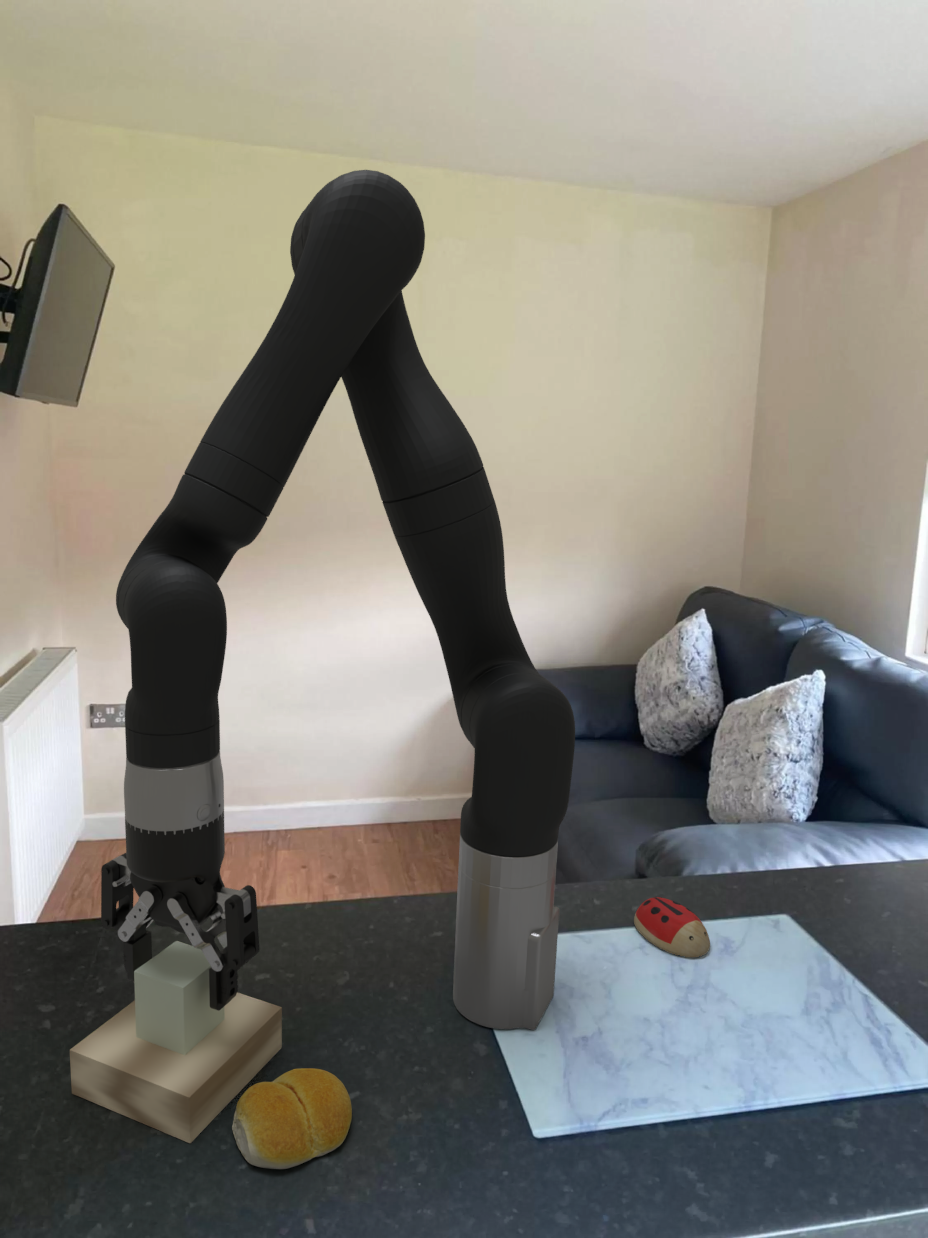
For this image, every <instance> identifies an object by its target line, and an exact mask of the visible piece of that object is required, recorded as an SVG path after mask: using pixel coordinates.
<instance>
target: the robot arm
mask: <svg viewBox="0 0 928 1238" xmlns="http://www.w3.org/2000/svg"><path fill="white" fill-rule="evenodd" d="M413 196H414V195H412V193H410V191H409V190H408V188H406V186H405V185H403V184H402V182H399V180H397V179H395V178H393V176H391V175H389V174H387V173H384V172H381V171H378V170H371V169H359V170H353V171H349V172H347V173H344V174H341V175H339V176H338V177H336V178H334V179H331V181H328V182H327V183H326V184H325V185H324V186H323V187H322V188H321V189H320V190H319V191H317V192H316V194H315V195H314V196H313V198H312V199H311V200H310V201H309V203H308V205H307V206H306V207H305V209H303V211H302V212H301V214H300V215H299V217H298V219H297V220H296V222H295V225H294V226H293V230H292V234H291V238H290V247H289V252H290V261H291V267H292V271H293V273H294V275H293V276H294V277H293V279H292V282H291V284H290V286H289V289H288V292H287V294H286V296H285V298H284V300H283V303H282V305H281V306H280V309H279V311H278V313H277V314H276V317H275V318H274V320H273V323H272V324H271V326H270V328H269V330H268V332H267V333H266V336H265V337H264V338H263V340H262V342H261V344H260V345H259V347H258V348H257V350H256V352H255V353H254V355H253V357H252V358H251V359H250V361H249V363H248V364H247V365H246V367H245V368H244V370H243V371H242V373H240V374H241V375H240V376H239V377H238V379H237V380H236V382H235V384H234V385H233V386H232V388H231V390H230V391H229V393H228V394H227V395H226V397H225V399H224V400H223V402H222V403H221V405H220V406H219V408H218V410H217V412H216V413H215V415H214V416H213V418H212V420H211V422H210V424H209V425H208V427H207V429H206V430H205V432H204V434H203V436H202V437H201V439H200V441H199V443H198V446H197V447H196V449H195V451H194V453H193V454H192V456H191V459H190V460H189V462H188V464H187V466H186V468H185V470H184V474H182V475H181V478H180V480H179V482H178V484H177V487H176V489H175V491H174V494H173V495H172V497H171V499H170V501H169V502H168V504H167V505H166V507H165V508H164V510H163V511H161V513H160V514H159V516H158V517H157V518H156V520H155V521H154V523H153V524H152V526H151V527H150V529H149V530H148V531H147V533H146V534H145V535H144V538H142V540H141V542H140V543H139V545H138V546H137V548H136V549H135V551H134V553H133V554H132V556H131V557H130V558H129V560H128V562H127V564H126V566H125V568H124V570H123V571H122V574H121V575H120V579H119V582H118V584H117V588H116V593H115V607H116V610H117V614H118V616H119V618H120V620H121V621H122V623H123V625H124V626H125V627H126V628H127V629H128V630H127V631H128V635H129V645H130V670H131V671H130V672H131V674H130V675H131V688H130V689H129V691H128V693H127V695H126V699H125V705H124V706H125V707H124V728H125V729H124V730H125V731H124V733H125V770H124V780H123V799H124V830H125V852H124V853H122V854H121V855H118V856H116V857H115V858H113V859H111V860H109V861H108V862H105V863H104V864H103V865H101V868H100V870H101V871H100V872H101V873H100V875H101V876H100V880H101V881H100V883H101V885H100V888H101V889H100V891H101V892H100V895H101V897H100V901H101V903H100V921H101V922H100V923H101V925H102V927H103V928H104V929H105V930H107V931H108V930H109V931H110V930H111V929H112V928H113V930H116V931H117V936H118V938H119V939H120V940H121V941H122V942H123V943H122V947H123V967H124V969H125V973H126V977H127V978H126V979H127V980H128V981H130V982H133V983H134V971H135V970H137V969H138V968H139V967H141V966H142V965H143V964H145V963H146V962H148V961H149V960H150V959H152V958H153V944H152V942H153V941H152V931H150V930H147V928H148V927H150V926H151V924H152V923H153V922H154V925H156V926H159V927H161V928H162V927H163V928H164V927H167V928H168V927H169V928H171V929H173V930H175V931H176V932H179V933H181V934H185V935H186V936H187V937H188V940H189V941H190V943H191V945H192V946H194V947H195V948H196V949H201V950H202V952H203V954H204V955H205V957H206V959H207V961H208V962H209V964H210V966H211V968H210V969H209V995H210V1008H212V1009H215V1010H218V1011H219V1010H221V1009H222V1008H223V1007H224V1006H225V1005H226V1004H228V1003H229V1002H230V1001H231V1000H232V999H233V998H234V997H235V996H236V994H237V992H238V991H239V989H238V988H239V987H238V986H239V985H238V983H239V982H238V977H239V975H238V972H239V971H238V970H240V969H241V968H242V967H243V966H245V965H246V964H247V963H248V962H249V961H251V960H252V959H253V958H254V957H255V956H256V955H258V954H259V952H260V936H259V934H260V933H259V920H258V903H257V890H256V889H255V887H253V886H252V885H249V884H247V885H244V887H242V888H241V889H235V888H229V887H225V883H224V881H223V879H222V876H221V868H222V863H223V860H224V859H225V858H224V857H225V853H226V852H225V851H226V849H225V848H226V847H225V846H226V844H225V783H224V771H223V767H222V765H223V764H222V757H221V735H220V734H221V732H220V731H221V728H220V727H221V726H220V724H221V723H220V722H221V721H220V706H219V692H220V688H221V687H220V686H221V684H222V683H221V682H222V678H223V669H224V663H225V657H226V649H227V648H226V647H227V635H228V620H227V619H228V618H227V609H226V607H227V606H226V601H225V597H224V595H223V591H222V590H221V588H220V586H219V581H220V580H221V578H222V576H223V575H224V573H225V572H226V570H227V568H228V566H229V565H230V563H231V561H232V560H233V558H234V556H235V555H236V553H238V551H239V550H240V549H242V548H246V547H247V546H249V545H251V544H252V543H253V542H254V541H255V540H256V538H257V537H258V536H259V534H260V533H261V532H262V530H263V528H264V526H265V525H266V523H267V521H268V517H270V515H271V514H272V511H273V509H274V507H275V506H276V503H277V502H278V500H279V498H280V496H281V494H282V492H283V490H284V488H285V486H286V485H287V482H288V480H289V479H290V476H291V475H292V472H293V471H294V469H295V467H296V464H297V463H298V462H299V461H298V460H299V458H300V457H301V454H302V452H303V451H304V449H305V446H306V444H307V442H308V440H309V438H310V436H311V434H312V432H313V430H314V429H315V426H316V424H317V422H318V421H319V418H320V417H321V414H322V412H323V410H324V409H325V407H326V405H327V403H328V401H329V400H330V397H331V395H332V394H333V392H334V390H335V388H336V386H337V384H338V383H339V381H340V380H342V383H343V385H344V387H345V390H346V394H347V397H348V399H349V403H350V406H351V410H352V414H353V416H354V419H355V422H356V426H357V430H358V433H359V436H360V439H361V441H362V446H363V447H364V451H365V454H366V457H367V459H368V463H369V465H370V468H371V471H372V473H373V477H374V481H375V483H376V486H377V490H378V493H379V496H380V500H381V501H382V502H381V503H382V506H383V509H384V511H385V513H386V517H387V520H388V522H389V525H390V528H391V531H392V533H393V536H394V539H395V541H396V543H397V546H398V548H399V550H400V551H399V552H401V555H402V558H403V561H404V563H405V566H406V567H407V571H408V572H409V575H410V578H411V579H412V581H413V584H414V586H415V589H416V590H417V592H418V596H419V598H420V599H421V601H422V604H423V606H424V607H425V609H426V612H427V614H428V616H429V617H430V620H431V622H432V625H433V626H434V630H435V632H436V635H437V638H438V641H439V644H440V648H441V653H442V656H443V660H444V665H445V668H446V672H447V676H448V679H449V680H448V681H449V684H450V689H451V694H452V697H453V698H452V699H453V701H454V708H455V711H456V715H457V720H458V723H459V726H460V727H461V730H462V733H463V734H464V736H465V738H466V740H468V742H469V743H470V745H471V746H472V747H473V748H474V755H473V756H474V758H473V760H474V764H473V775H472V788H471V797H469V798H468V799H467V800H466V801H464V803H463V804H462V807H461V812H460V822H459V823H460V825H459V827H460V828H459V852H458V853H459V854H458V868H457V869H458V871H457V873H458V874H457V893H456V895H457V896H456V897H457V898H456V914H455V915H456V916H455V917H456V918H455V938H454V939H455V940H454V958H453V959H454V961H453V962H454V964H453V965H454V967H453V976H452V977H453V978H452V985H453V988H452V989H453V990H452V1000H453V1004H454V1006H455V1008H456V1009H457V1011H458V1013H460V1014H461V1015H462V1016H463V1017H465V1019H467V1020H469V1021H470V1022H473V1023H475V1024H477V1025H480V1026H481V1027H482V1026H483V1027H486V1028H491V1029H498V1030H511V1029H520V1028H522V1029H528V1030H531V1031H535V1030H536V1029H537V1028H538V1025H539V1023H540V1022H541V1020H542V1018H543V1016H544V1014H545V1012H546V1010H547V1009H548V1007H549V1005H550V1003H551V1001H552V1000H553V998H554V995H555V981H556V965H557V964H556V963H557V951H558V938H559V936H558V935H559V923H560V922H559V921H560V908H559V907H557V906H555V905H554V903H555V892H556V891H555V888H556V876H557V860H558V844H559V843H558V842H559V833H560V832H559V831H560V826H561V824H562V823H563V821H564V819H565V817H566V814H567V811H568V807H569V802H570V794H571V792H570V791H571V784H572V775H573V767H574V766H573V765H574V756H575V745H576V744H575V743H576V721H575V715H574V711H573V708H572V704H571V703H570V701H569V699H568V698H567V696H566V695H565V693H564V692H563V691H561V689H560V688H558V687H557V686H556V685H554V684H553V683H552V682H551V681H549V680H548V679H547V678H546V677H544V676H543V675H542V674H540V673H539V671H538V670H537V669H536V667H535V666H534V664H533V661H532V660H531V658H530V656H529V654H528V652H527V650H526V647H525V645H524V642H523V640H522V637H521V635H520V632H519V629H518V627H517V625H516V622H515V620H514V616H513V614H512V610H511V607H510V603H509V599H508V595H507V594H508V592H507V584H506V569H505V568H506V567H505V566H506V565H505V563H506V562H505V548H504V538H503V530H502V523H501V519H500V515H499V511H498V508H497V504H496V500H495V498H494V494H493V491H492V488H491V485H490V482H489V479H488V476H487V473H486V470H485V466H484V463H483V460H482V457H481V455H480V452H479V450H478V448H477V446H476V444H475V442H474V440H473V437H472V435H471V433H470V432H469V431H468V429H467V428H466V426H465V424H464V422H463V421H462V419H461V418H460V416H459V414H458V413H457V412H456V410H455V408H454V407H453V406H452V404H451V402H450V401H449V400H448V398H447V397H446V396H445V394H444V393H443V391H442V389H441V388H440V387H439V385H438V384H437V382H436V381H435V379H434V378H433V376H432V374H431V373H430V371H429V369H428V368H427V365H426V363H425V361H424V359H423V357H422V355H421V352H420V349H419V347H418V344H417V341H416V339H415V336H414V332H413V329H412V325H411V321H410V317H409V315H408V311H407V307H406V303H405V299H404V296H403V292H402V291H403V290H404V289H405V287H407V286H408V285H409V283H410V282H411V281H412V279H413V278H414V276H415V274H416V273H417V271H418V270H419V268H420V265H421V262H422V259H423V256H424V251H425V241H426V232H425V224H424V223H425V221H424V219H423V216H422V212H421V209H420V207H419V205H418V203H417V201H416V199H415V197H413ZM134 891H135V894H136V895H137V896H138V898H137V899H138V900H137V901H136V903H134ZM117 904H118V907H117ZM209 918H211V921H212V925H211V926H210V928H209V929H207V930H204V929H203V927H201V926H202V925H203V924H204V923H205V922H207V921H208V919H209ZM216 938H217V940H218V942H219V944H220V946H222V949H221V950H220V948H219V947H218V945H217V944H216V942H215V939H216Z"/></svg>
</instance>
